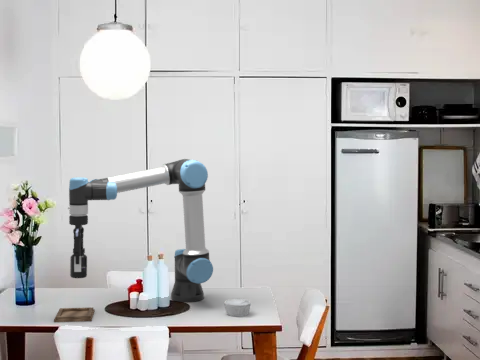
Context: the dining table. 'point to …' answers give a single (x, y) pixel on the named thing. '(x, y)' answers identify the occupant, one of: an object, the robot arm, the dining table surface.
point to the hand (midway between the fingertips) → (78, 269)
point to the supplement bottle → (83, 265)
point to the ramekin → (237, 307)
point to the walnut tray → (74, 314)
